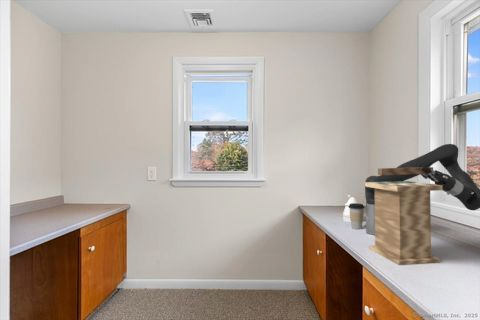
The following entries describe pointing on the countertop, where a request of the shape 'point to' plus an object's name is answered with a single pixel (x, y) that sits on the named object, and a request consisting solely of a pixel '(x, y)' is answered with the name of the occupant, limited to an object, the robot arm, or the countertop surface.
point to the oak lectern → (403, 221)
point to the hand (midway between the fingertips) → (420, 167)
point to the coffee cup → (356, 215)
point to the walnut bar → (401, 171)
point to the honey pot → (346, 210)
